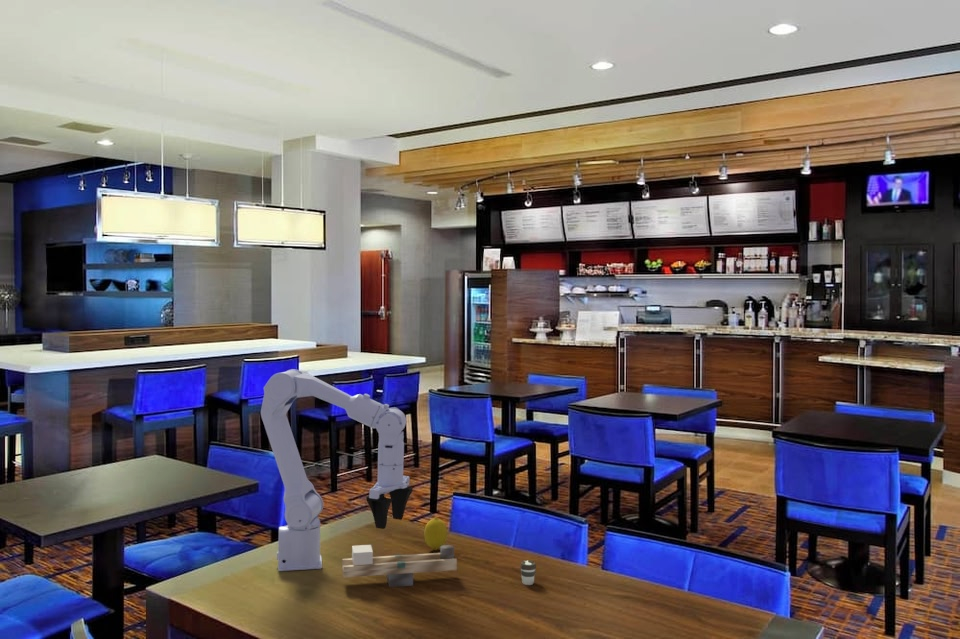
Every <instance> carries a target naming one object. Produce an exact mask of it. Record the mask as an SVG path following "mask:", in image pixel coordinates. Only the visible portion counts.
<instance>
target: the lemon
mask: <svg viewBox="0 0 960 639" xmlns="http://www.w3.org/2000/svg"><path fill="white" fill-rule="evenodd" d="M423 533H424V535H423V536H424V541H425V543H426V545H427V546H428V547H430V548H432V549H433V550H434V551H438V550H439V549H440V547H441V546H443V545H446V544H445V543H446V541H447V538H448V527H447V524H446V523H445V522H444V521H443V520H442V519H440V518H438V517H436V516H434V518H432V519H430V520H428V522H427V523H426V525H425V527H424V531H423Z"/></svg>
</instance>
